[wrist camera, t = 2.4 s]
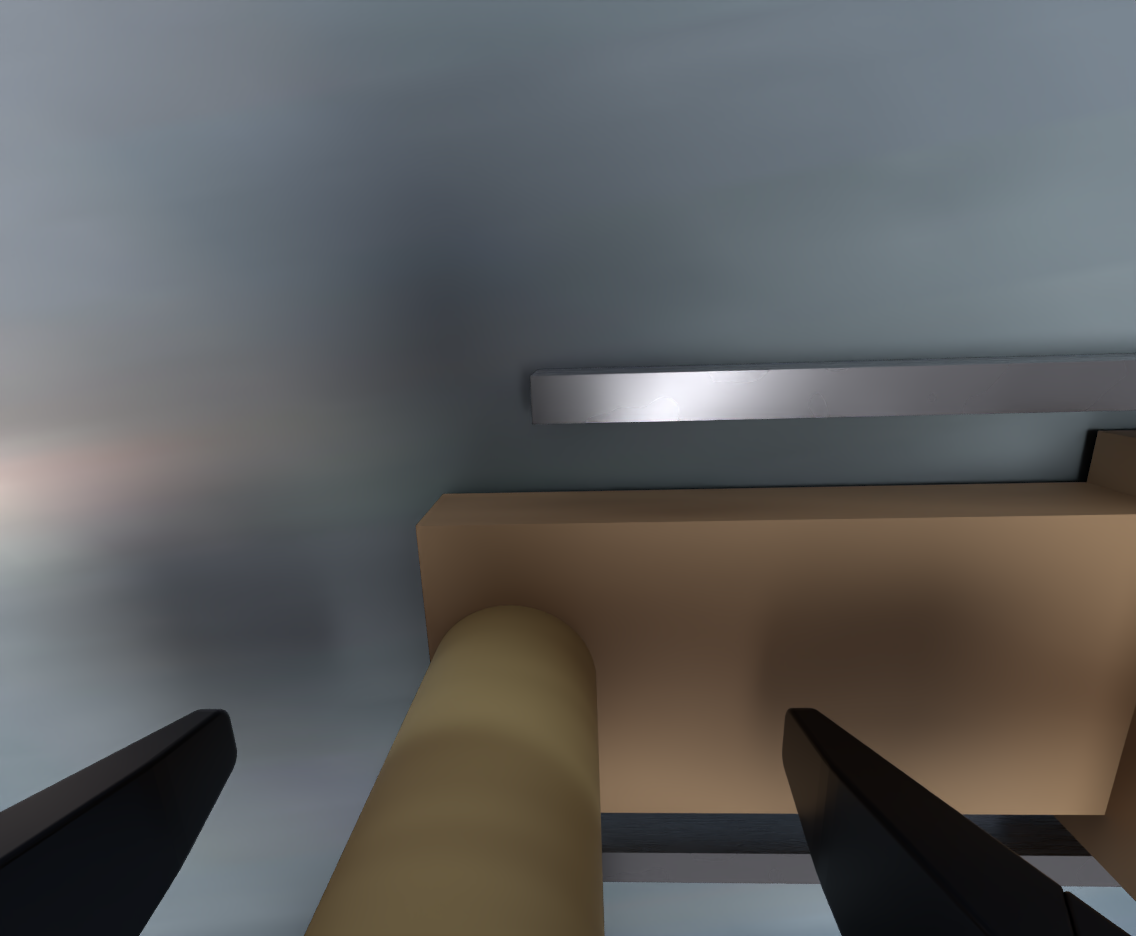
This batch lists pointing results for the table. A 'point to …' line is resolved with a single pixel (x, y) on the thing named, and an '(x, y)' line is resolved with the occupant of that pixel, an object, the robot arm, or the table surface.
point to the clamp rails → (819, 391)
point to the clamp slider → (741, 676)
